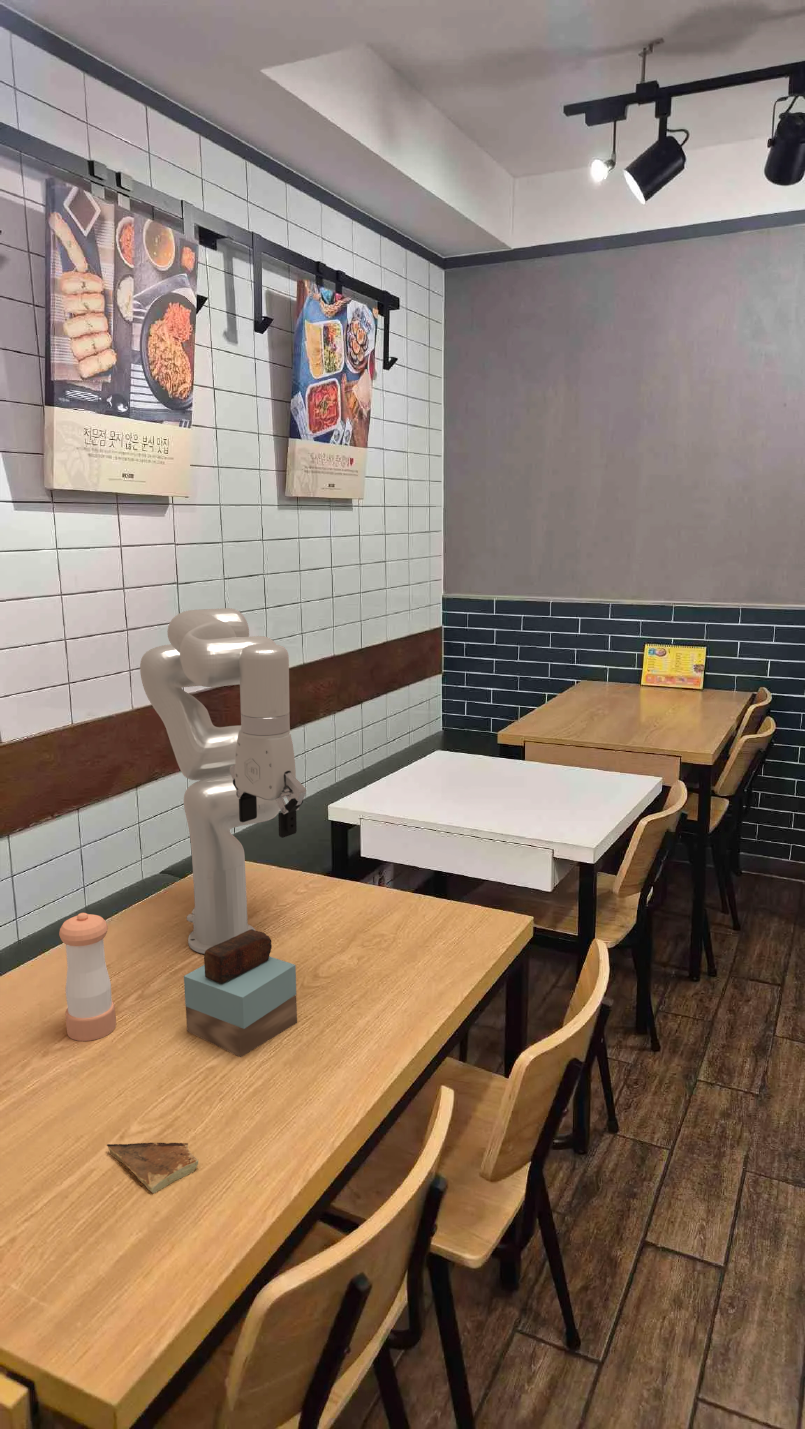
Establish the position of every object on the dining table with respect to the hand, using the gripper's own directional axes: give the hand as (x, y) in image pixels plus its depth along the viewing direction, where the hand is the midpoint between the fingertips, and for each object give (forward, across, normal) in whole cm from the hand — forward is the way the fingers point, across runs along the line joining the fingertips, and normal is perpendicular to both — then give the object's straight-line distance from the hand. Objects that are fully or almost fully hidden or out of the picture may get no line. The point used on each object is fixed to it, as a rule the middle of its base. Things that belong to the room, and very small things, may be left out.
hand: (267, 827), depth 149 cm
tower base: (+29, +5, -10) cm, 31 cm away
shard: (+29, +22, -38) cm, 53 cm away
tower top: (+24, +5, -10) cm, 27 cm away
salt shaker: (+30, -12, -26) cm, 41 cm away
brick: (+20, +4, -10) cm, 22 cm away
